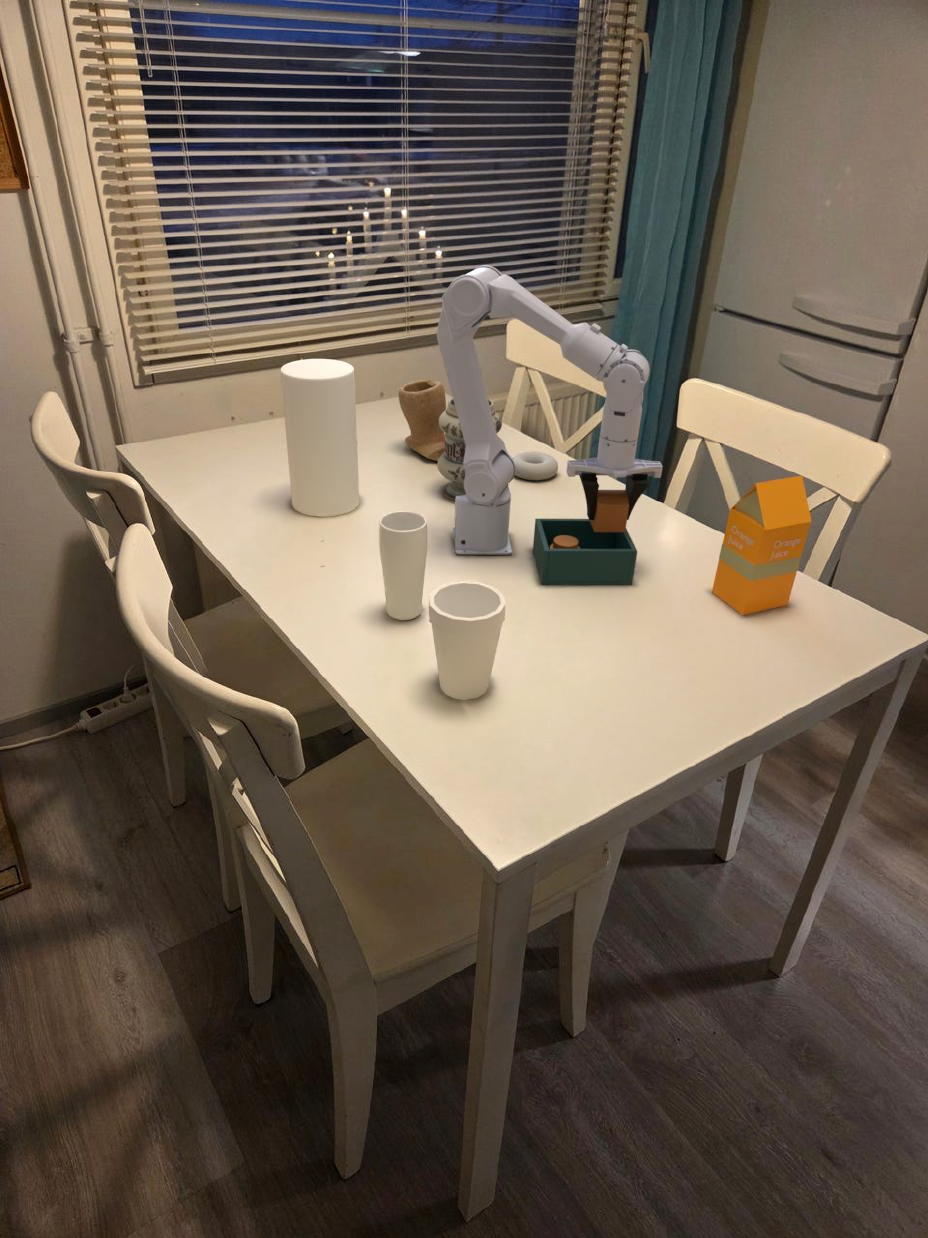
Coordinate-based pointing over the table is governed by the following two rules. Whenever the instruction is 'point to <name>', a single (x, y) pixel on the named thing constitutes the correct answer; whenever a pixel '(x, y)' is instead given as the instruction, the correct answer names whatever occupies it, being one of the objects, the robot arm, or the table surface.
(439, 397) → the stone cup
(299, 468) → the cylinder
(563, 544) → the round bread
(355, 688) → the table surface
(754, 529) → the orange juice
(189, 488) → the table surface
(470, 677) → the foam cup
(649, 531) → the table surface
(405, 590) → the drinking glass
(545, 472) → the donut
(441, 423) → the apothecary jar
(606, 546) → the dark green open box
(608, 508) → the square bread
